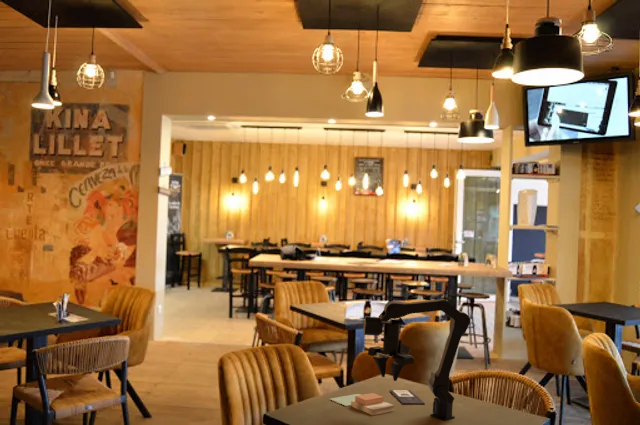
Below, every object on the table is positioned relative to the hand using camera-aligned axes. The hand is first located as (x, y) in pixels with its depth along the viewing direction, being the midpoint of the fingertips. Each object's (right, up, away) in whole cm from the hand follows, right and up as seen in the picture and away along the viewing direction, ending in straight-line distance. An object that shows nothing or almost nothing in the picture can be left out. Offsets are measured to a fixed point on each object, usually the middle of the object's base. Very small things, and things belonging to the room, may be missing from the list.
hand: (389, 378), depth 225 cm
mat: (-13, -13, +15) cm, 23 cm away
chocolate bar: (+10, -15, +23) cm, 29 cm away
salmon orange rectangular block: (-7, -11, +8) cm, 15 cm away
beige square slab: (-6, -13, +6) cm, 15 cm away
